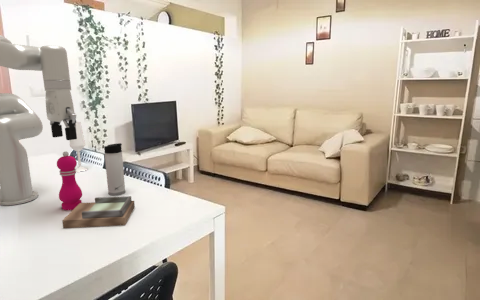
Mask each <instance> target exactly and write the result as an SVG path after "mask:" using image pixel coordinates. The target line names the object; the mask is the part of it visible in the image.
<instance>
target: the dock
mask: <svg viewBox="0 0 480 300" xmlns="http://www.w3.org/2000/svg"><path fill="white" fill-rule="evenodd" d="M132 199H133V198H132V196H131V195H130V196H129V195H126V196H103V197H100V196H98V197H95V198H94V202H82V203H80V204H79V205H78V206H77V207H75V208H74V209H73V210H70V212H69V213H68V214H67V215H66V216H65V217H64V218H63V219H62V220H61V221H62V223H61V224H62V228H63V229H72V228H73V229H74V228H78V229H79V228H92V227H93V228H95V227H97V228H98V227H111V226H112V227H113V226H126V224H127V222H128V221H129V219H130V217H131V216H132V213H133V211H134V210H135V200H132Z"/></svg>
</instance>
